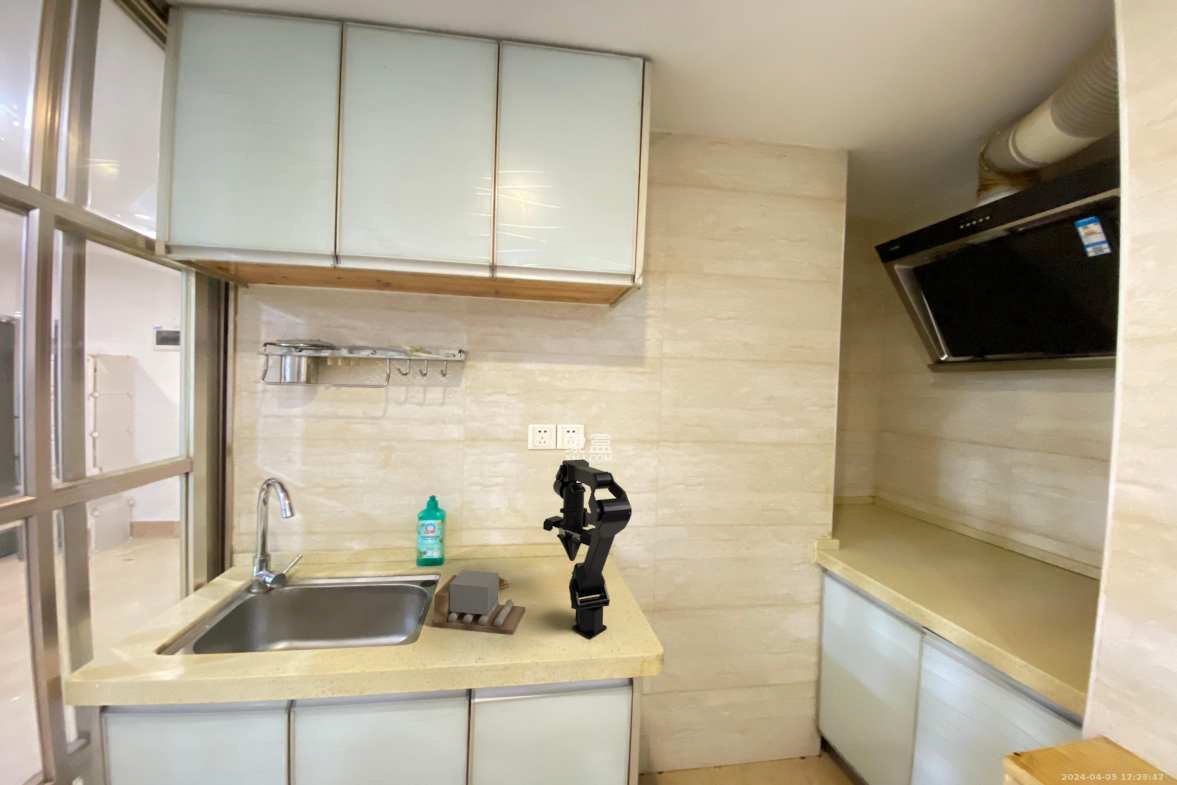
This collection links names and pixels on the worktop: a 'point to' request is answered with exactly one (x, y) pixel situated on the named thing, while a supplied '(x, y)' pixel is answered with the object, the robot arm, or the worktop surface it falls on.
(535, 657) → the worktop surface
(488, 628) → the roller bed
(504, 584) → the shard
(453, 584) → the gray rectangular block
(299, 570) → the worktop surface
